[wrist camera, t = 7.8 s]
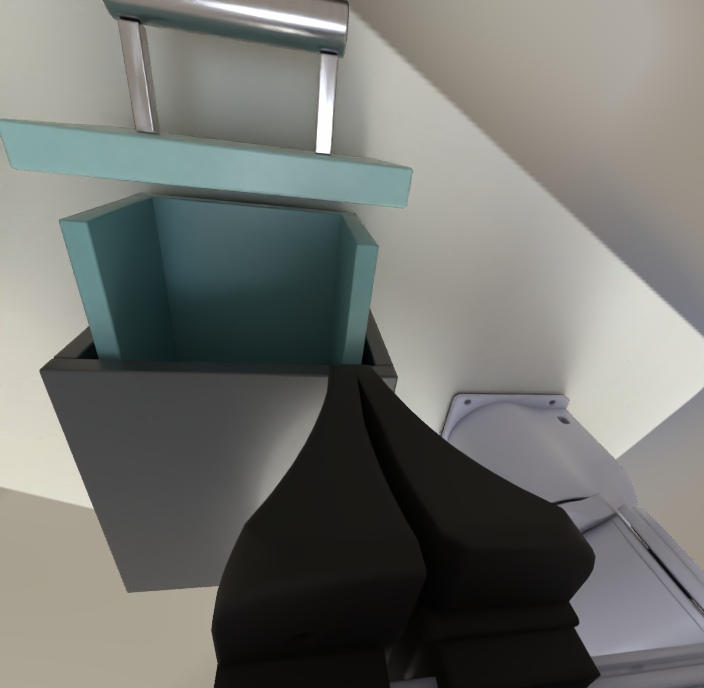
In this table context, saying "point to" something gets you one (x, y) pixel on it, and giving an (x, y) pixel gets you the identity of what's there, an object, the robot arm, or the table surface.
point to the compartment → (184, 449)
